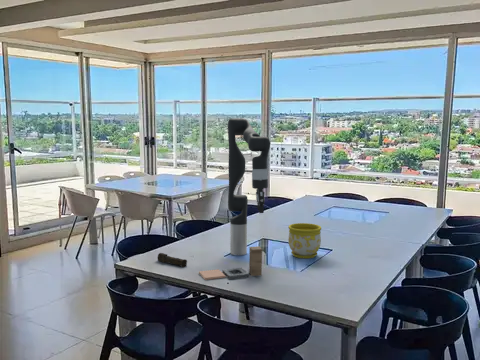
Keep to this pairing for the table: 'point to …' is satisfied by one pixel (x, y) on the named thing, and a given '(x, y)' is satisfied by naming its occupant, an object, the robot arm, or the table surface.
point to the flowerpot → (304, 239)
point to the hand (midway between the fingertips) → (260, 211)
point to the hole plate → (234, 276)
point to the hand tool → (171, 260)
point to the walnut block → (255, 261)
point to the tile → (211, 274)
